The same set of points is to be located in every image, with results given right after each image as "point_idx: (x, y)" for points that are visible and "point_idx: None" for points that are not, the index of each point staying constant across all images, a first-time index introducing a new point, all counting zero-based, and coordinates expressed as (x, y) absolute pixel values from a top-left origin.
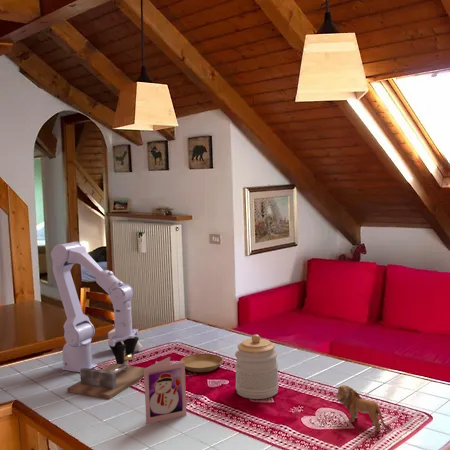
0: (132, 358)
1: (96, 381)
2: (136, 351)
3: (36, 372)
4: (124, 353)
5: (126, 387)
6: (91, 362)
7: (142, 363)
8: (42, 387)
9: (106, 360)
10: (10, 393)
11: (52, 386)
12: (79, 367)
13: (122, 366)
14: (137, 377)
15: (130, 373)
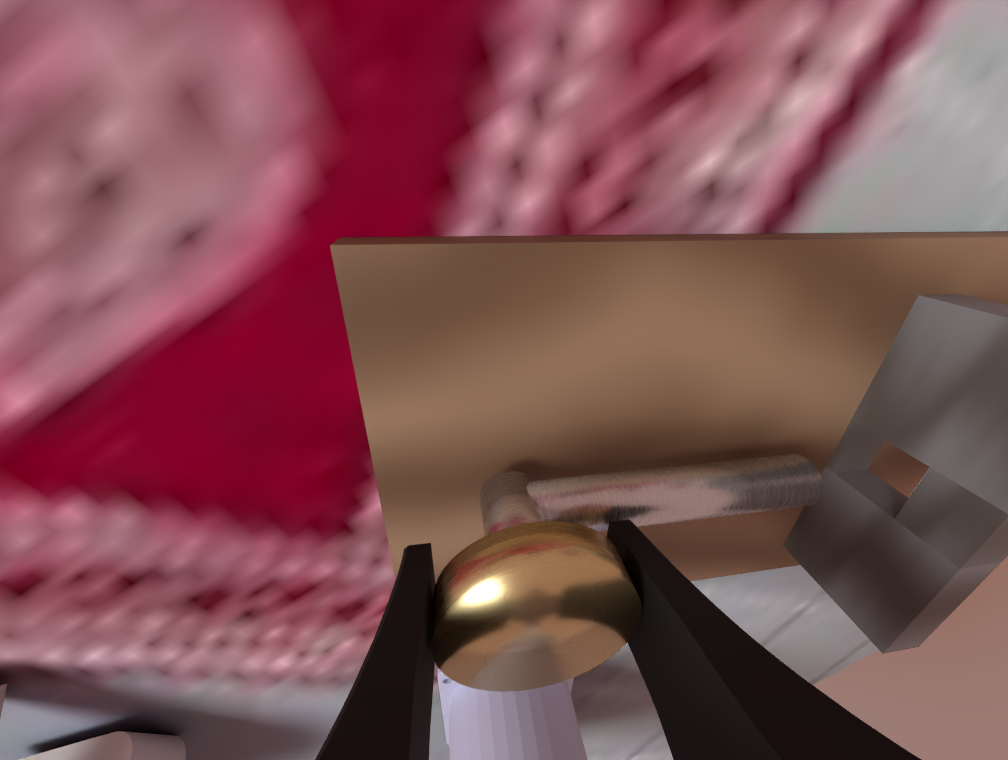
0: (413, 547)
1: (849, 482)
2: (3, 684)
3: (614, 739)
4: (488, 664)
5: (845, 235)
6: (486, 701)
7: (185, 494)
8: (779, 636)
9: (324, 686)
10: (836, 663)
11: (768, 619)
12: (565, 690)
13: (591, 505)
14: (657, 255)
15: (563, 393)
